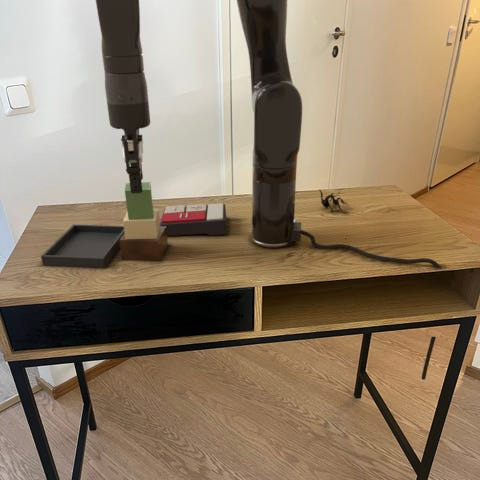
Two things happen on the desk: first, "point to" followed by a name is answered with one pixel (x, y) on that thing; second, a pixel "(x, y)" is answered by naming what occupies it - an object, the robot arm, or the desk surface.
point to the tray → (85, 246)
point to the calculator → (195, 219)
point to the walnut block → (144, 247)
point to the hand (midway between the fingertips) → (137, 185)
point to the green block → (139, 202)
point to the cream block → (142, 227)
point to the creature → (326, 202)
